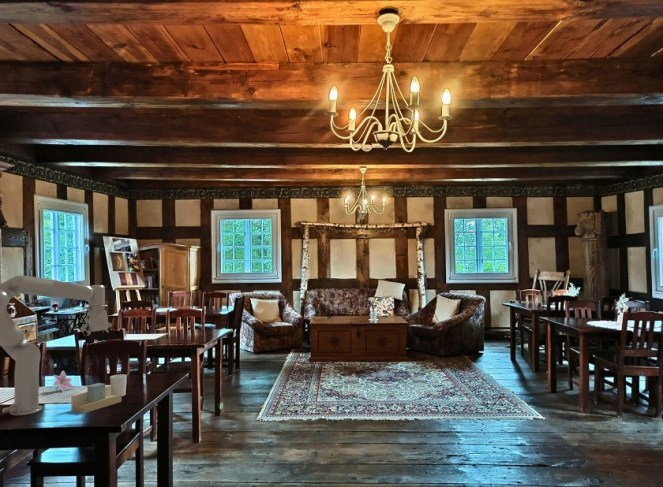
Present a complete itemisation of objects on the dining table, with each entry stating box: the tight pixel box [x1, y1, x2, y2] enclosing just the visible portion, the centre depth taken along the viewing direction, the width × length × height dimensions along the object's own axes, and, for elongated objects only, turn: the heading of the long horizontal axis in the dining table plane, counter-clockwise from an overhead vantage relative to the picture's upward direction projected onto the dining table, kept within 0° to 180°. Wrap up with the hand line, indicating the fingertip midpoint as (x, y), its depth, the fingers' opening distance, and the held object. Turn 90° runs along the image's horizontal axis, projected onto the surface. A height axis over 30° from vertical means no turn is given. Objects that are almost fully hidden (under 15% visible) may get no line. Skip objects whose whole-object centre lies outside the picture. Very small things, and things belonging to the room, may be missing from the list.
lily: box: [52, 370, 74, 393], centre depth 256 cm, size 12×12×10 cm
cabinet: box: [86, 382, 106, 403], centre depth 225 cm, size 6×6×8 cm
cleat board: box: [70, 385, 122, 414], centre depth 225 cm, size 20×9×7 cm, turn 152°
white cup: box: [109, 373, 128, 397], centre depth 243 cm, size 8×8×10 cm
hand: (96, 341), depth 242 cm, fingers open, 9 cm apart
